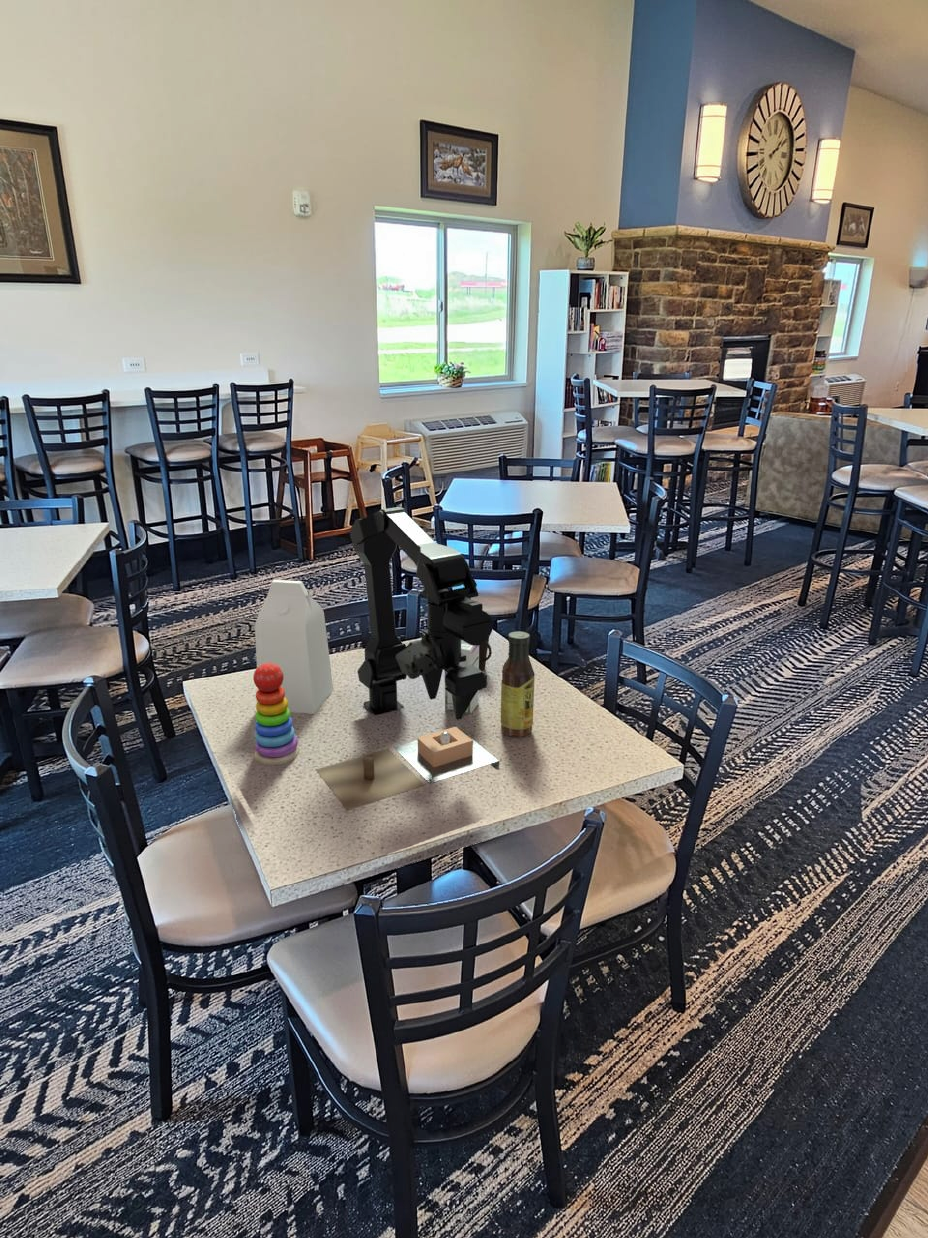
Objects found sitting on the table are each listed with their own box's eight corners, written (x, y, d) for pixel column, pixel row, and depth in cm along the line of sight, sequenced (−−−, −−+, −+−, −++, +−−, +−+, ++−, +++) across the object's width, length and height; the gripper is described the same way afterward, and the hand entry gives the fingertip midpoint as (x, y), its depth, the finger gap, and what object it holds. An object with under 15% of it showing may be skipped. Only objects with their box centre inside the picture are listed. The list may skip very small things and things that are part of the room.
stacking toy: (251, 751, 139) (241, 658, 132) (295, 743, 142) (287, 651, 135) (258, 773, 132) (247, 676, 126) (304, 763, 135) (296, 668, 128)
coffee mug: (450, 661, 177) (450, 621, 174) (487, 660, 178) (487, 620, 175) (455, 682, 166) (455, 641, 163) (494, 681, 167) (495, 639, 164)
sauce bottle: (530, 740, 143) (533, 643, 136) (497, 737, 144) (499, 640, 137) (534, 724, 149) (537, 630, 142) (503, 721, 150) (505, 627, 143)
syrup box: (479, 702, 158) (480, 638, 152) (470, 715, 152) (470, 649, 147) (453, 698, 159) (453, 634, 154) (444, 711, 154) (443, 645, 149)
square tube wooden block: (417, 752, 137) (417, 737, 136) (455, 740, 141) (455, 726, 140) (434, 767, 132) (433, 752, 131) (472, 755, 136) (472, 740, 135)
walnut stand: (316, 774, 132) (314, 752, 130) (388, 753, 138) (387, 731, 137) (347, 815, 120) (345, 791, 119) (424, 790, 127) (424, 767, 126)
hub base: (393, 751, 139) (392, 725, 137) (459, 732, 146) (459, 707, 144) (430, 788, 128) (429, 760, 126) (499, 765, 134) (499, 739, 133)
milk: (333, 689, 164) (325, 574, 154) (314, 714, 153) (304, 592, 144) (281, 685, 165) (270, 571, 156) (258, 709, 155) (245, 588, 146)
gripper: (377, 618, 131) (381, 699, 137) (428, 654, 116) (430, 743, 122) (433, 607, 137) (435, 685, 142) (489, 640, 122) (488, 726, 127)
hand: (445, 708), depth 133 cm, fingers open, 9 cm apart
